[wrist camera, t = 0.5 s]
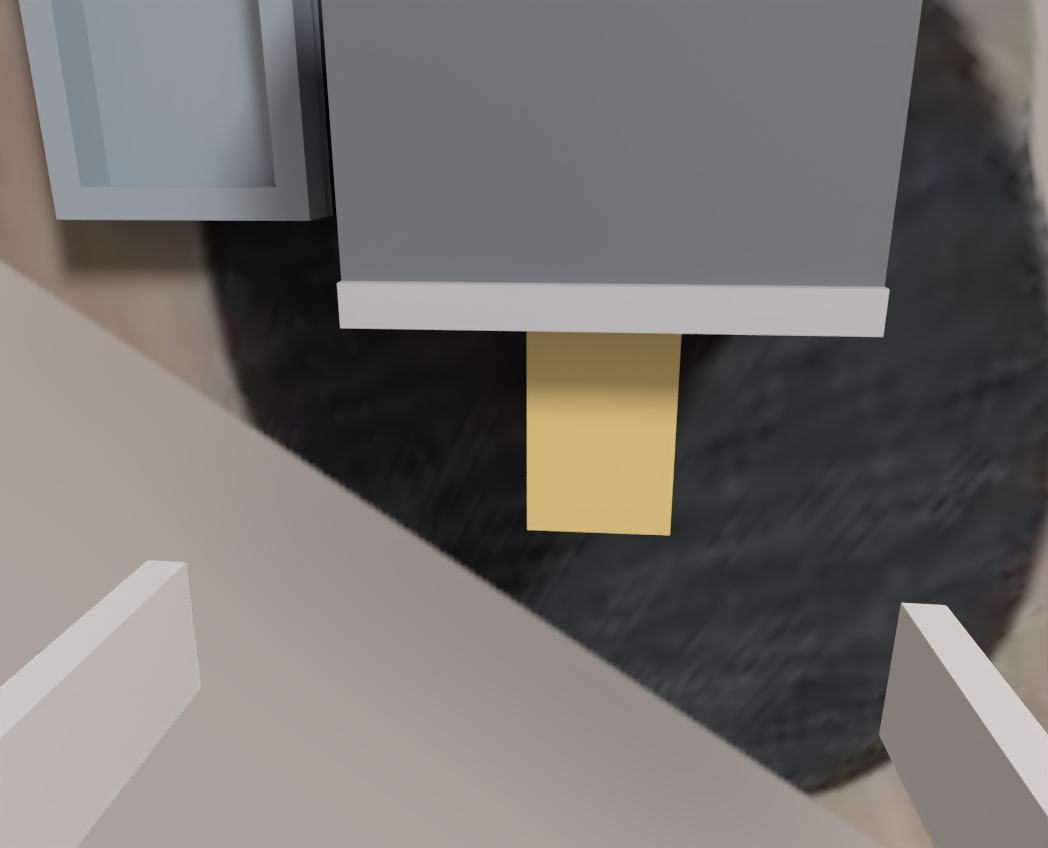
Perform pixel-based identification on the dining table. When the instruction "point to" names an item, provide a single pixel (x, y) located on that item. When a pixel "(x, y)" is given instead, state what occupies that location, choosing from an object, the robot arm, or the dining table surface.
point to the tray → (181, 108)
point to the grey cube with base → (618, 163)
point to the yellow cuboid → (601, 431)
